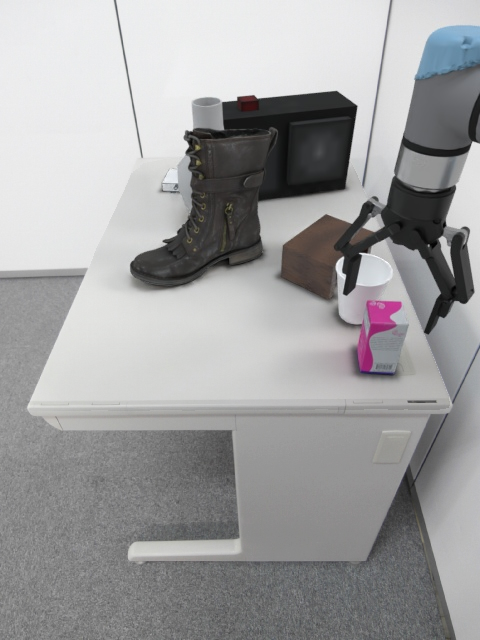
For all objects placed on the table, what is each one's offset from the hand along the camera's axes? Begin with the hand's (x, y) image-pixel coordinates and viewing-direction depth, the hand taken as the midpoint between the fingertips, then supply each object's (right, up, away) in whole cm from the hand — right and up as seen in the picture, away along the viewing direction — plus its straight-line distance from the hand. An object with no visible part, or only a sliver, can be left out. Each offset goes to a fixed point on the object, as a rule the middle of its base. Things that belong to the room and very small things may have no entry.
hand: (387, 309), depth 68 cm
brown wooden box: (-4, +9, +28) cm, 29 cm away
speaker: (-12, +36, +56) cm, 68 cm away
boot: (-31, +11, +30) cm, 44 cm away
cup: (-1, -1, +17) cm, 17 cm away
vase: (-29, +24, +45) cm, 59 cm away
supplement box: (0, -9, +8) cm, 12 cm away
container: (-39, +38, +60) cm, 80 cm away
